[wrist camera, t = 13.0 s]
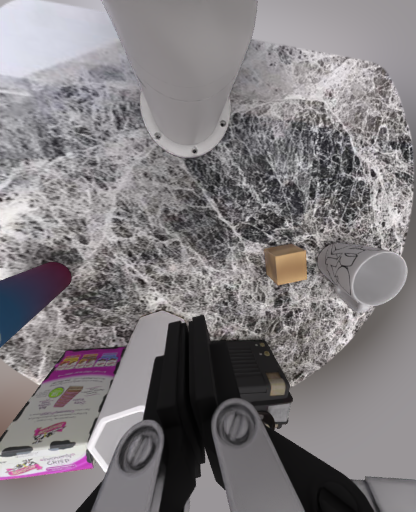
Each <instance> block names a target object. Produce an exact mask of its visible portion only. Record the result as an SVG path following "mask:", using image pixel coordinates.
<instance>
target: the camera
mask: <svg viewBox="0 0 416 512" xmlns="http://www.w3.org/2000/svg"><path fill="white" fill-rule="evenodd" d="M226 342H227V346H228V350H229V354H230V357H231V361H232V365H233V369H234V373H235V377H236V381H237V384H238V388H239V392H240V396H241V399H243V400H246V401H248V402H249V403H250V404H252V405H253V406H254V408H255V409H256V411H257V412H258V414H259V416H260V418H261V420H262V422H263V424H265V425H266V426H268V427H269V428H271V429H273V430H274V429H275V428H277V429H280V428H281V427H282V424H287V423H288V414H289V410H290V405H291V402H292V401H293V398H292V396H291V394H290V392H289V388H290V384H289V382H288V380H287V379H286V377H285V375H284V373H283V371H282V370H281V368H280V366H279V364H278V362H277V360H276V359H275V357H274V355H273V353H272V351H271V350H270V348H269V346H268V344H267V342H266V341H226ZM211 343H215V342H211Z"/></svg>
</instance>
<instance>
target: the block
mask: <svg viewBox="0 0 416 512" xmlns="http://www.w3.org/2000/svg"><path fill="white" fill-rule="evenodd" d="M264 253H265V264H266V274H267V275H268V276H269V277H270V278H271V279H272V280H273V281H274V282H275V283H276V284H277V285H281V284H286V283H291V282H296V281H301V280H306V279H307V268H306V250H303V249H301V248H299V247H297V246H295V245H293V244H286V245H281V246H276V247H271V248H266V249H264Z"/></svg>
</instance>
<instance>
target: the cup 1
mask: <svg viewBox="0 0 416 512" xmlns="http://www.w3.org/2000/svg"><path fill="white" fill-rule="evenodd" d="M70 282H71V273H70V271H69V270H68V268H67V267H65V266H64V265H62V264H60V263H57V262H49V263H46V264H43V265H40V266H38V267H35V268H32V269H30V270H27V271H25V272H22V273H19V274H17V275H14V276H11V277H9V278H6V279H3V280H1V281H0V347H1V346H2V345H4V344H5V343H6V342H7V341H8V340H9V339H10V338H11V337H12V336H13V335H15V334H16V333H17V332H18V331H19V330H20V329H21V328H22V327H23V326H24V325H26V324H27V323H28V322H29V321H30V320H31V319H32V318H33V317H34V316H35V315H37V314H38V313H39V312H40V311H41V310H42V309H43V308H44V307H45V306H46V305H48V304H49V303H50V302H51V301H52V300H53V299H54V298H55V297H56V296H57V295H59V294H60V293H61V292H62V291H63V290H64V289H65V288H66V287H67V286H68V285H69V284H70Z"/></svg>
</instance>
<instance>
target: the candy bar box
mask: <svg viewBox="0 0 416 512" xmlns="http://www.w3.org/2000/svg"><path fill="white" fill-rule="evenodd" d="M125 350H126V348H125V347H116V348H102V349H89V350H74V351H66V352H65V353H64V354H63V356H62V357H61V358H60V360H59V361H58V362H57V364H56V365H55V366H54V367H53V369H52V370H51V371H50V373H49V374H48V375H47V377H46V378H45V379H44V381H43V382H42V383H41V385H40V386H39V387H38V389H37V390H36V392H35V393H34V394H33V396H32V397H31V398H30V399H29V401H28V402H27V403H26V404H25V406H24V407H23V408H22V410H21V411H20V412H19V414H18V415H17V416H16V418H15V419H14V420H13V422H12V423H11V424H10V426H9V427H8V428H7V430H6V431H5V432H4V433H3V435H2V436H1V437H0V480H7V479H14V478H23V477H30V476H38V475H46V474H54V473H61V472H69V471H76V470H84V469H92V468H94V465H95V462H96V460H95V458H94V457H93V456H92V454H91V453H90V452H89V450H88V449H87V444H88V442H89V439H90V437H91V434H92V432H93V430H94V427H95V425H96V422H97V420H98V417H99V415H100V412H101V410H102V407H103V405H104V402H105V400H106V397H107V395H108V392H109V390H110V387H111V385H112V382H113V380H114V378H115V375H116V373H117V370H118V368H119V365H120V363H121V360H122V358H123V355H124V353H125Z"/></svg>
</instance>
